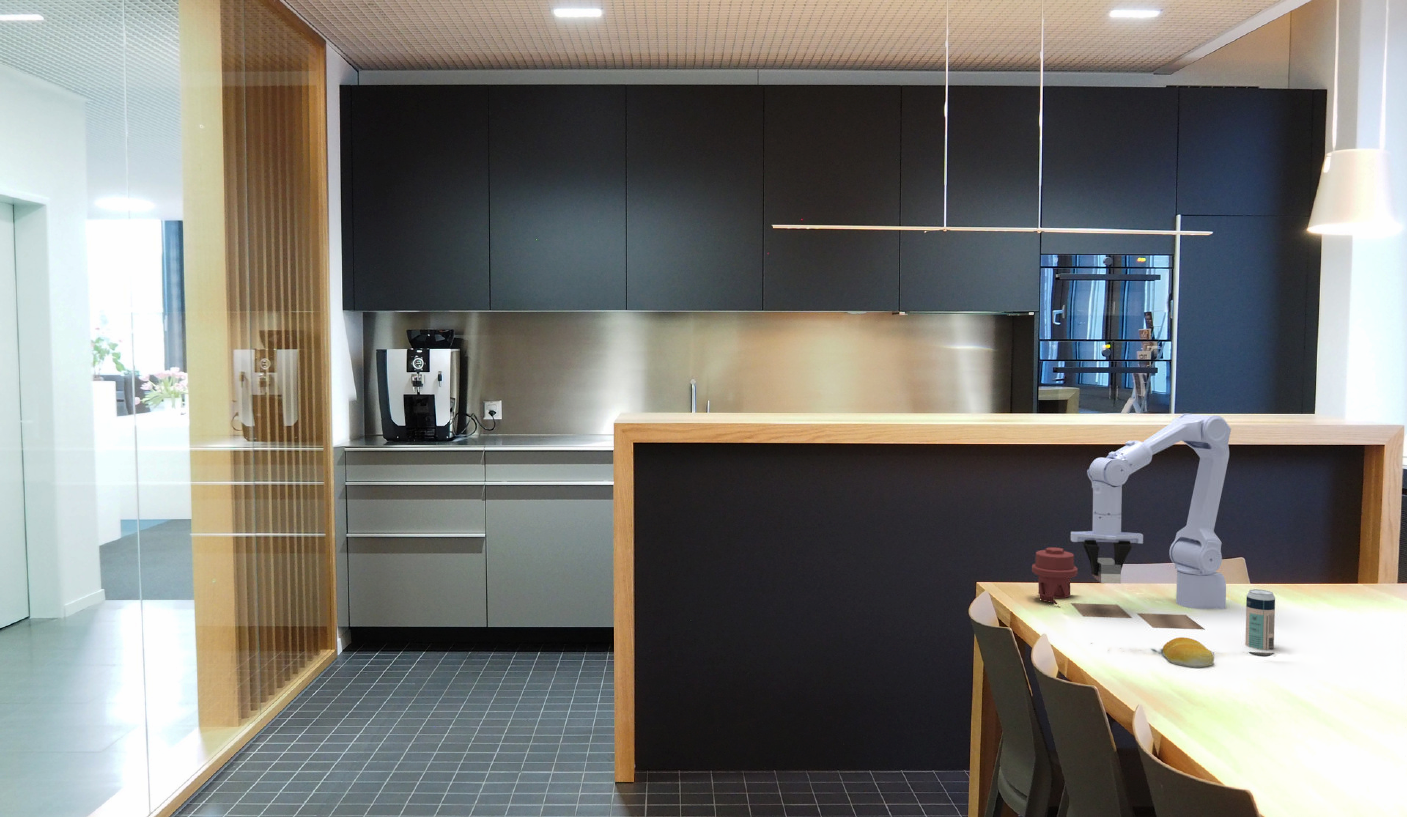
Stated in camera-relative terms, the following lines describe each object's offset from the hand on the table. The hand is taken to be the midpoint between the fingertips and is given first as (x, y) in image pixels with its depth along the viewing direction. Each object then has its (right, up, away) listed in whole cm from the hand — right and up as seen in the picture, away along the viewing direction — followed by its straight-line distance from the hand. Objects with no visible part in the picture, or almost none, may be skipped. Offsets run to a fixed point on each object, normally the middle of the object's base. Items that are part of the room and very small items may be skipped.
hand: (1105, 575), depth 204 cm
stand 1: (-1, -9, +1) cm, 10 cm away
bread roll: (+3, -11, -28) cm, 31 cm away
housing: (0, -1, 0) cm, 1 cm away
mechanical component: (-6, -9, +15) cm, 18 cm away
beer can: (+19, -11, -25) cm, 33 cm away
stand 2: (+10, -10, -8) cm, 16 cm away
